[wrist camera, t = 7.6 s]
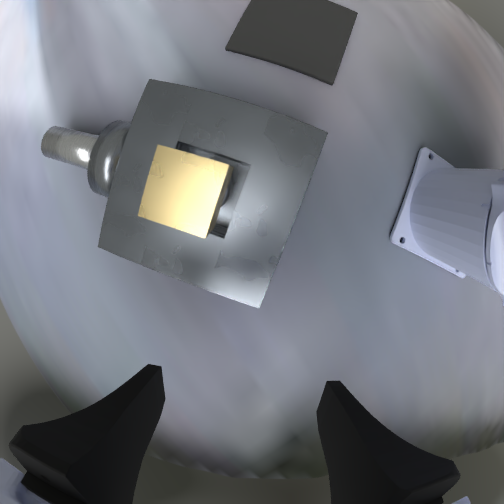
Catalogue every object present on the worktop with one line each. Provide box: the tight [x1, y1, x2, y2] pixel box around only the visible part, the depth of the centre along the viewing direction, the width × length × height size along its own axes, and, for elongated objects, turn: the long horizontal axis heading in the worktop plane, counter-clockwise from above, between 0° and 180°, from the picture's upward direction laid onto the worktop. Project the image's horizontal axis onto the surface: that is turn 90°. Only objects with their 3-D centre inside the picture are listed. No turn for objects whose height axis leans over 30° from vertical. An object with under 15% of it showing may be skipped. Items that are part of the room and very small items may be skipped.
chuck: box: [41, 79, 328, 308], centre depth 16 cm, size 18×10×5 cm, turn 70°
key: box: [138, 145, 234, 238], centre depth 13 cm, size 3×3×7 cm
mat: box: [225, 0, 358, 85], centre depth 15 cm, size 8×8×1 cm
